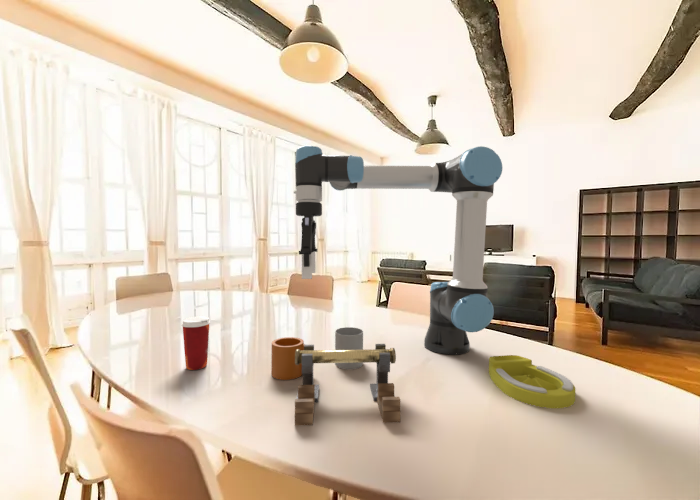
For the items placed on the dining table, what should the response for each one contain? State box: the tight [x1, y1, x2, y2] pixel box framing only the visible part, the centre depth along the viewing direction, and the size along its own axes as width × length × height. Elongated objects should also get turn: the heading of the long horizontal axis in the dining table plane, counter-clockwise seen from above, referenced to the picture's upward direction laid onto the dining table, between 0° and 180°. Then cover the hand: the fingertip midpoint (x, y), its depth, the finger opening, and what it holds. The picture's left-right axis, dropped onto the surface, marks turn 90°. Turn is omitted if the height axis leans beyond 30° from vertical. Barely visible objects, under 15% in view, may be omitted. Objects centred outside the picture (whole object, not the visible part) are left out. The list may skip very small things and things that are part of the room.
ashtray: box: [488, 354, 576, 409], centre depth 82 cm, size 16×21×5 cm
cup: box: [334, 326, 364, 370], centre depth 96 cm, size 8×8×10 cm
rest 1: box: [294, 384, 316, 427], centre depth 68 cm, size 4×8×5 cm, turn 3°
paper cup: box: [181, 315, 211, 371], centre depth 94 cm, size 8×8×14 cm
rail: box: [295, 347, 397, 365], centre depth 77 cm, size 24×4×4 cm, turn 93°
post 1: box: [295, 344, 320, 403], centre depth 77 cm, size 5×7×11 cm
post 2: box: [369, 343, 396, 402], centre depth 78 cm, size 5×7×11 cm
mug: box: [270, 336, 315, 381], centre depth 89 cm, size 9×12×9 cm
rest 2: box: [376, 382, 401, 424], centre depth 69 cm, size 4×8×5 cm, turn 3°
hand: (309, 275), depth 93 cm, fingers open, 13 cm apart
